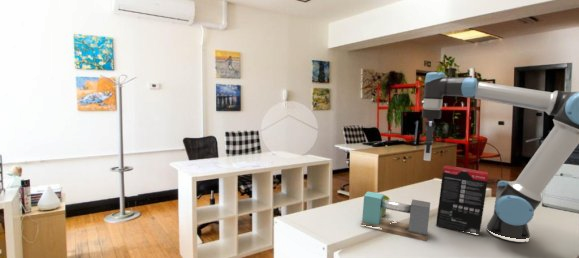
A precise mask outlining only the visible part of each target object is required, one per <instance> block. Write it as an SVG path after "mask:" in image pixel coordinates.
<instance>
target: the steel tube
mask: <svg viewBox="0 0 579 258" xmlns="http://www.w3.org/2000/svg"><path fill="white" fill-rule="evenodd" d="M381 208H384V209H386V210H390V211H393V212H394V211H396V212H401V213H405V214H410V210H411V204H407V203H401V202H396V201H390V200H389V201H386V200H381Z"/></svg>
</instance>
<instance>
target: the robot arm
mask: <svg viewBox="0 0 579 258" xmlns="http://www.w3.org/2000/svg"><path fill="white" fill-rule="evenodd" d="M444 96H445V97H446V96H447V97H449V96H450V97H464V98H470V99H475V100H480V101H485V102H486V101H487V102H491V103H497V104H502V105H508V106H512V107H513V106H514V107H518V108H525V109H530V110H534V111H535V110H536V111H541V112H545V113H546V114H547V115H548V116H554V117H553V119H552V121H553V125H554V126H553V127H552V129H551V131H550V132H549V133H548V135H547V136H546V137H545V139H544V140H543V142H542V143H541V144H540V146H539V147H538V149H537V150H536V151H535V153H534V155H533V156H532V157H531V158H530V159H529V161H528V163H527V164H526V165H525V167H524V168H523V170H521V172H520V173H519V174H518V177H517V178H516V179H515V180H513V181H509V180H499V181H498V182H497V185H496V193H495V194H496V195H495V199H494V200H495V201H494V207H493V208H494V209H493V213H492V214H493V215H492V216H491V218H490V219H489V221H488V223H487V225H486V230H487V229H488V230H489V231H491V232H493V233H495V234H498V235H501V236H505V237H510V238H516V239H526V238H529V237H530V238H531V234H530V228H529V225H528V224H529V223H530V222H531V221H532V220H533V217H534V214H535V211H536V209H537V208H538V206H539V205H540V204H541V202H542V201H543V198H542V195H541V194H542V193H543V191H545V189H546V188H547V186H548V185H549V184H550V182H551V181H552V180H553V178H554V176H555V175H557V173H558V172H559V170H560V169H561V168H562V166H563V165H564V164H565V162H566V161H567V159H568V158H569V157H570V156H571V155H572V153H573V152H574V151H575V149H576V148H577V147H578V145H579V91H563V90H562V91H561V90H554V91H553V92H551V91H544V90H537V89H531V88H525V87H518V86H511V85H504V84H497V83H492V82H485V81H479V80H478V79H477V78H476V77H468V76H467V77H446V74H445V72H436V71H435V72H427V73H426V75H425V80H424V90H423V100H421V103H422V111H421V118H422V119H427V121H425V130H424V131H425V142H423V143H422V144H423V145H424V150H423V161H427V162H431V159H432V148H433V142H434V141H435V138H433V137H434V136H433V134H434V132H435V128H436V122H435V120H440V119H441V118H442V109H443V100H444V98H443V97H444Z"/></svg>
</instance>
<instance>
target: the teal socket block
mask: <svg viewBox="0 0 579 258" xmlns="http://www.w3.org/2000/svg"><path fill="white" fill-rule="evenodd" d="M383 195H384V193H380V192H374V191H366V193H365V194H364V195H363V207H362V220H361V223H362V222H365V223H369V224H374V225H379V223H380V221H381V219H382V217H383V216H382V208H381V200H383Z"/></svg>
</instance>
